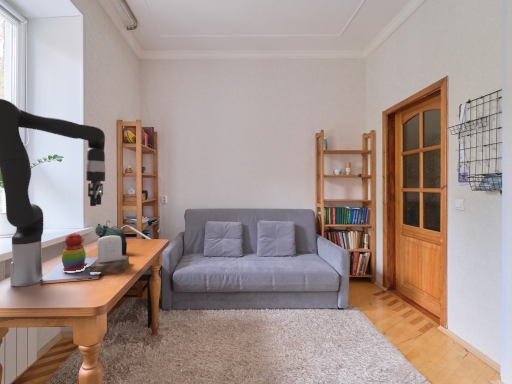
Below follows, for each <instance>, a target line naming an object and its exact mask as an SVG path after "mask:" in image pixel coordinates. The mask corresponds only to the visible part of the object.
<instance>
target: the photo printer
mask: <svg viewBox="0 0 512 384" xmlns="http://www.w3.org/2000/svg"><path fill="white" fill-rule="evenodd" d="M122 256H123V255H122V240H121V237H120V236H105V237H101V238H99V237H98V240H97V259H98V263H102V262H110V261H118V260H122Z"/></svg>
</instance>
